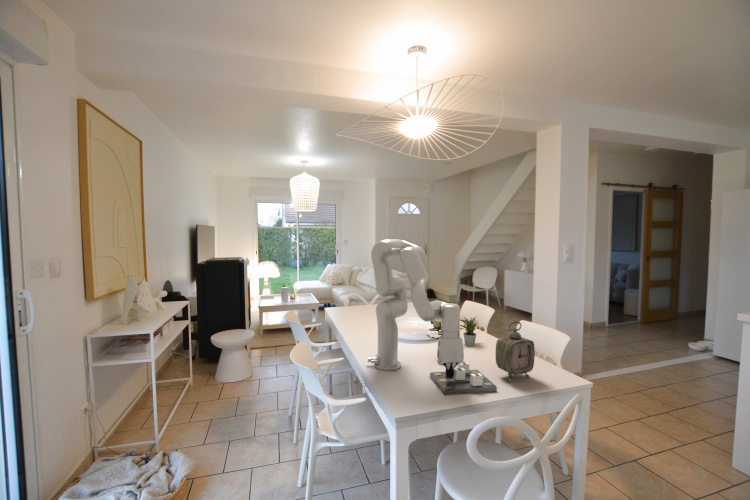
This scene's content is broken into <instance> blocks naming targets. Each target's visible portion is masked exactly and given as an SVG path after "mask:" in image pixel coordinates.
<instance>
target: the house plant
mask: <svg viewBox="0 0 750 500" xmlns="http://www.w3.org/2000/svg"><path fill="white" fill-rule="evenodd" d="M463 318H464V320H465V321H464V320H462V323H463V325H462V324H460V331H461V330H465V332H463V338H464V345H465V346H467V347H473V346H475V343H476V338H477V333H475V330H477V329H478V330H479V329H480V330H482V328H480V327H479V328H476V326H477V325H479V322H478V321H479V320H478V319H477V316H474V317H471V318H470V319H468V318H466V317H465V316H463Z"/></svg>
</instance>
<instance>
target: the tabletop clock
mask: <svg viewBox="0 0 750 500" xmlns="http://www.w3.org/2000/svg"><path fill="white" fill-rule="evenodd" d="M514 324H519V327H518V328H517V327H514V328H513V329H511V326H512V325H514ZM521 328H522V323H521V322H519V321H513V322H511V323H510V324H509V326H508V329H509V330H510V331H511V332H509V334H508V336H504V337H501V338H498V339H497V340H496V343H495V363H496V366H497V368H498V369H500V370H503V371H504V372H506V373H507V376H508V378H507V379H506V382H508V383H511V382H512V379H511V377H512V375H514V376H518V375H519V376H520V375H523V374H525V378H526V379H529V378H530V375H529V374H527V373H529V372H531V371H533V369H534V367H535V358H536V357H535V355H536V354H535V343H534V341H533V340H530V339H528V338H525V337H523V336H522V335H521V334H520V332H518V331H520V330H521Z"/></svg>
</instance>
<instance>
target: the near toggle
mask: <svg viewBox="0 0 750 500" xmlns="http://www.w3.org/2000/svg"><path fill="white" fill-rule="evenodd" d="M480 373H481V372H480ZM480 373H473V374H470V384H471V385H472V386H482V381H483V376H482V375H481V374H480Z"/></svg>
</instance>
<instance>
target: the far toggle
mask: <svg viewBox="0 0 750 500" xmlns="http://www.w3.org/2000/svg"><path fill="white" fill-rule="evenodd" d="M457 366H458V367H460V368H463V369H464V370H465V373H469V370H470V363H469V362H468V361H464V360H463V363H460V364H458V365H457ZM458 367H457V368H458Z"/></svg>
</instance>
